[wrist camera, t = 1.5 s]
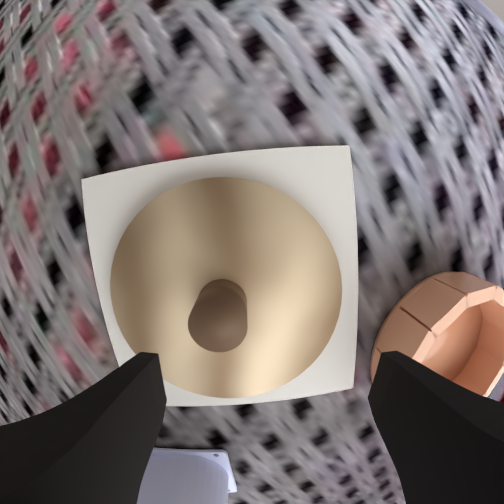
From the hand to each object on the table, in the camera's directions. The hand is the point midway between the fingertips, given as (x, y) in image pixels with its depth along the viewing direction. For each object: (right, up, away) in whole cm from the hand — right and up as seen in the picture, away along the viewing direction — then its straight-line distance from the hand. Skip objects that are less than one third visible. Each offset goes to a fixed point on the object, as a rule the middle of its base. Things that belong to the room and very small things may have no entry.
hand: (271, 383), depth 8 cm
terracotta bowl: (+15, -4, +12) cm, 20 cm away
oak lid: (-2, +1, +10) cm, 10 cm away
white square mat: (-2, +1, +11) cm, 11 cm away
